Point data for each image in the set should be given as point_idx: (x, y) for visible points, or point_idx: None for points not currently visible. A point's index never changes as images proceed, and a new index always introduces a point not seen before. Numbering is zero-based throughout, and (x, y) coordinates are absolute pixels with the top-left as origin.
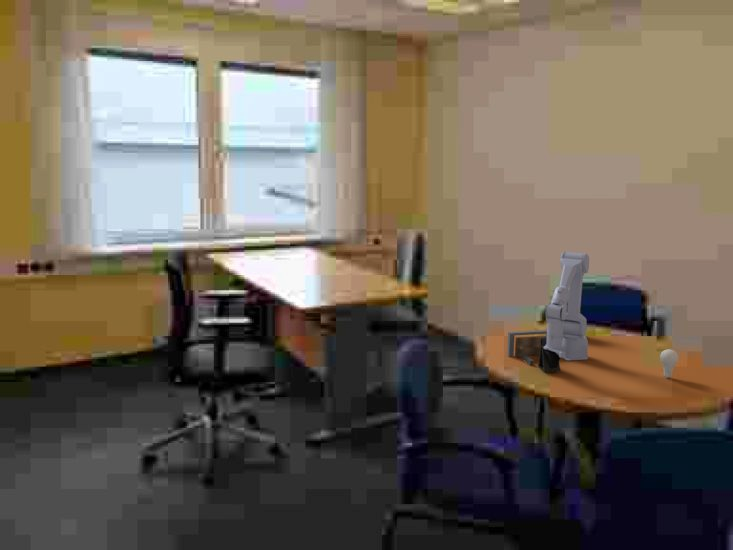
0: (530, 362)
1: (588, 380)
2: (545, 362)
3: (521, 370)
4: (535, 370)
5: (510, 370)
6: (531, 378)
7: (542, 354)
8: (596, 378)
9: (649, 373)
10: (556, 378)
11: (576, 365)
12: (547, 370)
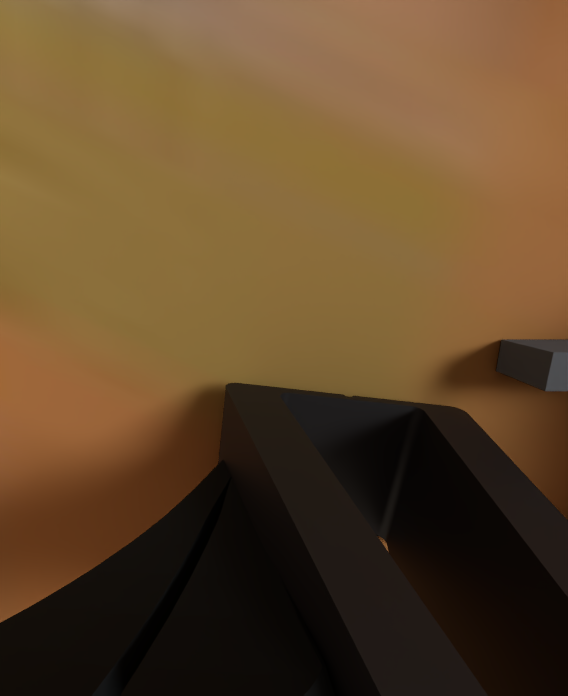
0: (531, 349)
1: None
2: (246, 457)
3: (386, 175)
4: (350, 333)
5: (422, 16)
6: (131, 191)
7: (374, 547)
8: None
9: None
10: (123, 428)
11: None
12: (224, 416)
